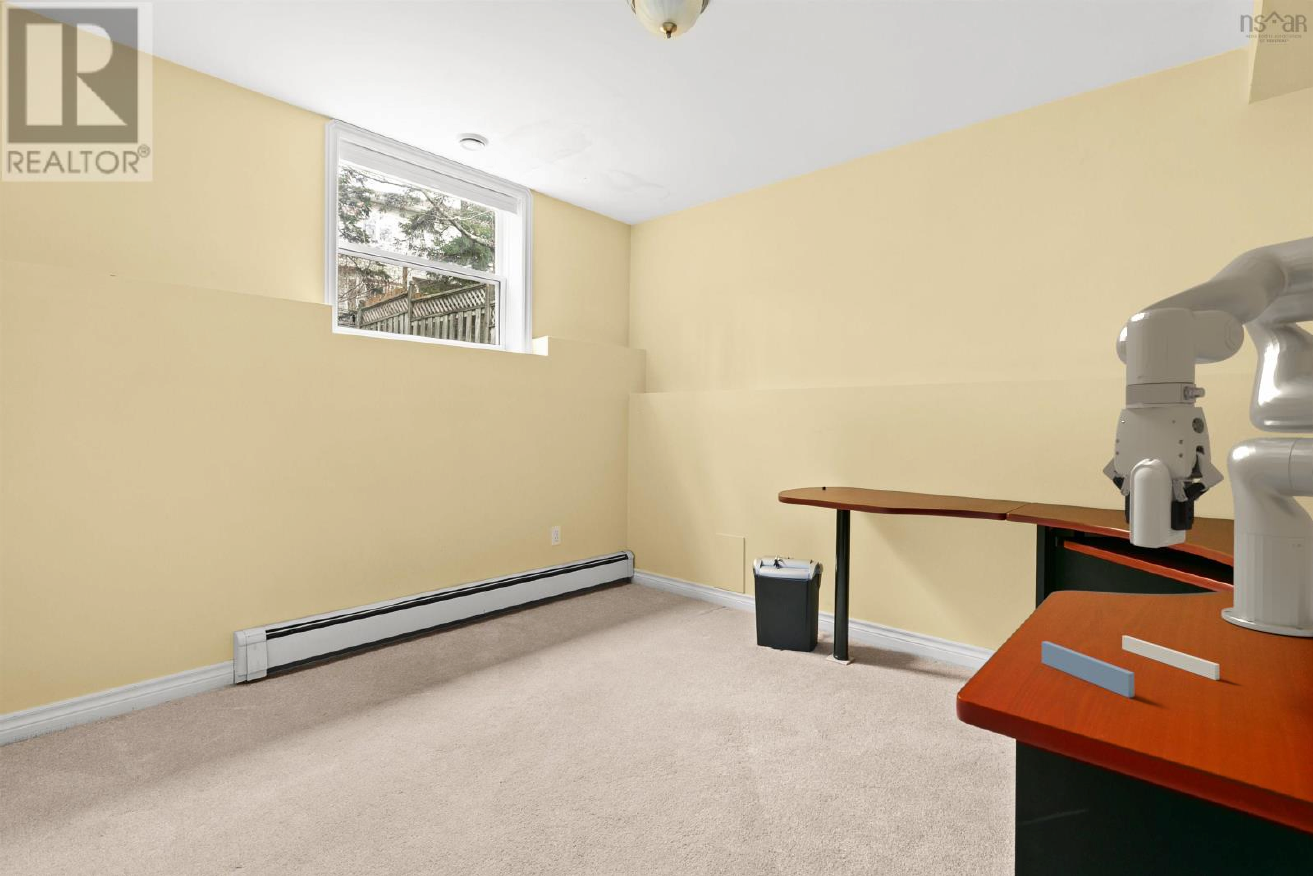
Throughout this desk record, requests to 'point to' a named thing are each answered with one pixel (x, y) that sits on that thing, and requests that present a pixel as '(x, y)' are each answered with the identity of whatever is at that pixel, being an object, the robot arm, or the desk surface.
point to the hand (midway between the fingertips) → (1157, 525)
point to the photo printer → (1152, 506)
